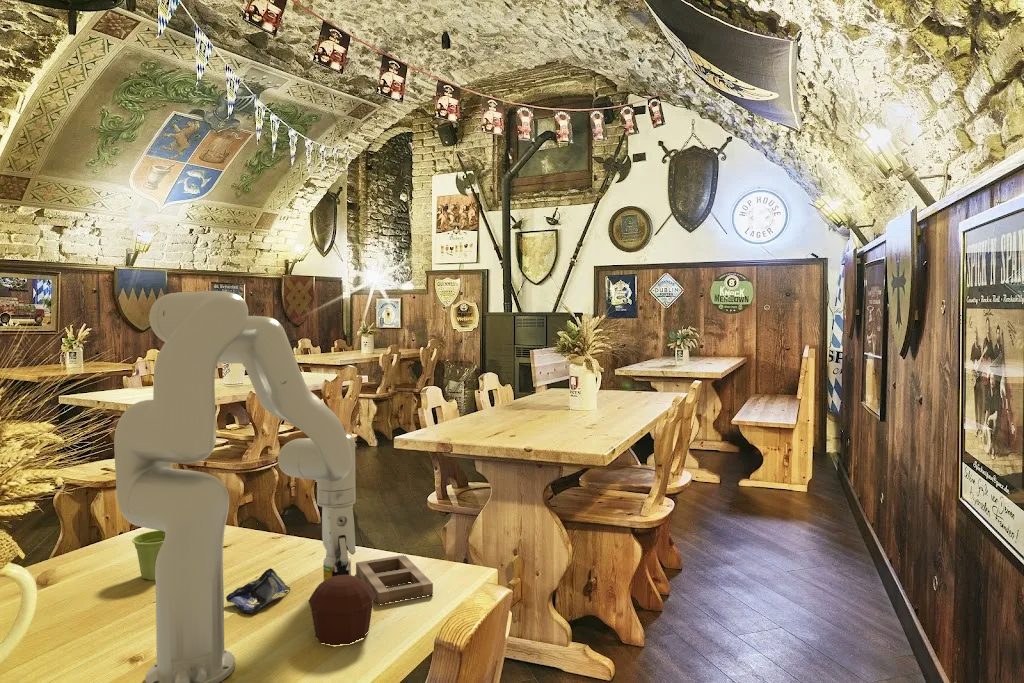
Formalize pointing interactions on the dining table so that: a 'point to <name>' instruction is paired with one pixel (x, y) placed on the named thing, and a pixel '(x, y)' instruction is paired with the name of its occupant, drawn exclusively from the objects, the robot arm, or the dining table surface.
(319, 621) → the muffin
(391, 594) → the bottle rack
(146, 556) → the plant pot
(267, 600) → the snack package
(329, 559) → the supplement bottle
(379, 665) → the dining table surface
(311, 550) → the dining table surface
